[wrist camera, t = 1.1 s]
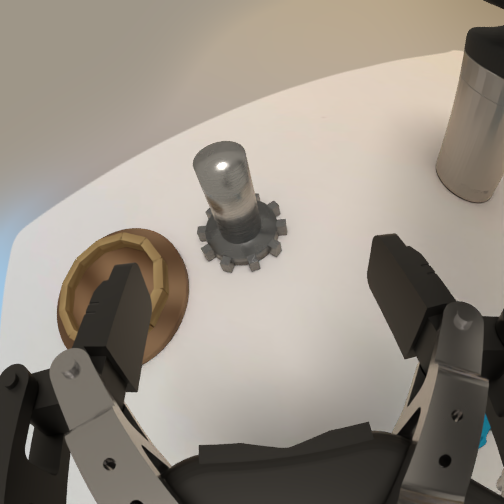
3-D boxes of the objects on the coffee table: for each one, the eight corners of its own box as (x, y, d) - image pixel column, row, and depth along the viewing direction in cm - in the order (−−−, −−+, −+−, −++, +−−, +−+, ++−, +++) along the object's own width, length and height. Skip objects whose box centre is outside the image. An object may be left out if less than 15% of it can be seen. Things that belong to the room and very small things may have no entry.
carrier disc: (103, 224, 38) (93, 212, 36) (213, 249, 33) (206, 234, 31) (44, 336, 31) (30, 328, 28) (149, 399, 25) (135, 395, 23)
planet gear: (221, 196, 37) (195, 123, 28) (295, 208, 34) (288, 128, 25) (188, 262, 33) (145, 193, 24) (270, 282, 30) (253, 209, 21)
